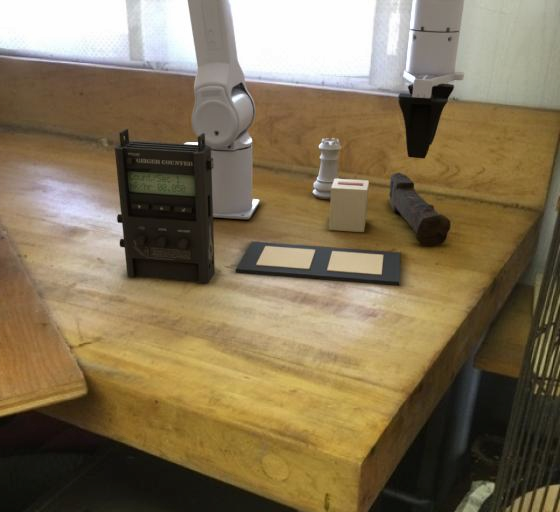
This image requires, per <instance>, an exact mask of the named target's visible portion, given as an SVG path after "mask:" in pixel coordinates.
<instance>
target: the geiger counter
mask: <svg viewBox="0 0 560 512" xmlns="http://www.w3.org/2000/svg"><path fill="white" fill-rule="evenodd" d="M197 139H198V140H197V142H198V145H192V144H185V143H175V142H174V143H173V142H157V141H139V140H130V135H129V128H125V129H123V130H121V131H119V144H117V146H115V147H114V155H115V165H116V176H117V186H118V196H119V206H120V213H118V214H117V216H116V221H117V223H118V224H121V225H122V236H123V237H122V238H120V239H119V247H120V248H124V256H125V265H126V275H127V277H128V278H130V279H134V278H136V277H139V278H148V279H159V280H160V279H161V280H172V281H183V282H195V283H198V284H199V285H205V284H209V283H210V281H211V280H212V279H213V277H214V275H215V274H216V272H215V271H216V269H215V268H216V266H215V235H214V234H215V233H214V232H215V231H214V217H213V200H212V169H213V168H214V167H213V158H211V147H210V146H208V145H205V133H202V134H201V135H200V136H198V137H197ZM201 141H202V144H201Z"/></svg>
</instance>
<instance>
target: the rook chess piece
mask: <svg viewBox="0 0 560 512" xmlns="http://www.w3.org/2000/svg"><path fill="white" fill-rule="evenodd" d="M330 139H331V140H330ZM320 142H321V143H320V144H319V145H318V148H319V150H320V152H321V154H320V156H319V160H320V166H319V170H318V171H319V172H318V176H317V177H316V180H315V181H314V182H313V188H314V189H313V190H312V194H313V196H314V197H315V198H318V199H321V200H331V188H332V185H333V182H334V179H341V178H340V177H339V171H338V160H339V159H340V157H339V152H340V150H341V149H342V146H341V144H340V139H339V138H334V137H332V138H329V137H326V138H322V139H321V141H320Z"/></svg>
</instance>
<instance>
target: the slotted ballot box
mask: <svg viewBox="0 0 560 512" xmlns="http://www.w3.org/2000/svg"><path fill="white" fill-rule="evenodd" d="M369 183H370V180H367V179H351V178H350V179H349V178H340V179H334V182H333V185H332V188H331V199H330V201H329V203H330V204H329V219H328V220H329V222H328V231H338V232H339V231H340V232H351V233H352V232H353V233H365V228H366V222H367V211H368V209H367V208H368V198H369V185H370V184H369Z"/></svg>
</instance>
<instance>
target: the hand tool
mask: <svg viewBox="0 0 560 512" xmlns="http://www.w3.org/2000/svg"><path fill="white" fill-rule="evenodd" d="M389 203H390V206H391V208H392V212H393V213H396V214H400V216H401V218H402V219H404V220H405V221H406V222H407V224H408V225H409V227H410V228H411V229H412V230H413V231H414V233H416V241H417V242H418V244H419V245H420V246H422V247H432V246H437V245H441V244H443V243H444V242H445V241H446V240H447V238H448V233H449V232H450V230H451V220H450V219H449V218H448V217H446V216H445V215H443V214H440V213H438V212H437V211H436V209H435V206H434V205H433V204H432V203H431V204H430V203H428V202H426V200H425V199H424V198H422V196H420V195H419V194H418V192H417V191H416V189H415V183H414V181H412V180H411V178H410V177H409V176H407V175H406V174H404V173H401V172H396V173H393V174H391V175H390V181H389Z"/></svg>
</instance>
